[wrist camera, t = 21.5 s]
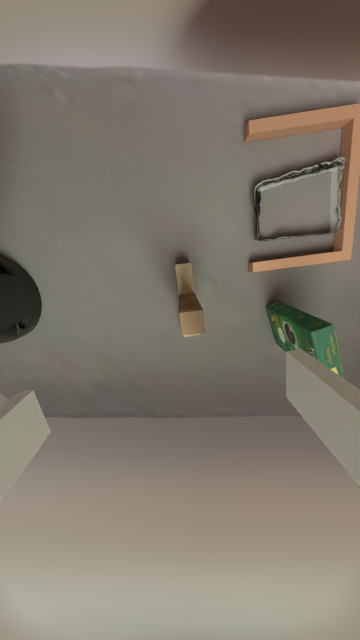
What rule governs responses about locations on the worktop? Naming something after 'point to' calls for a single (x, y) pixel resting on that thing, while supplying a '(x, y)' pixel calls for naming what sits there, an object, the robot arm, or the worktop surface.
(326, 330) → the coffee box
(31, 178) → the worktop surface
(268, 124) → the tile bay
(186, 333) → the wooden scraper
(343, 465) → the robot arm
